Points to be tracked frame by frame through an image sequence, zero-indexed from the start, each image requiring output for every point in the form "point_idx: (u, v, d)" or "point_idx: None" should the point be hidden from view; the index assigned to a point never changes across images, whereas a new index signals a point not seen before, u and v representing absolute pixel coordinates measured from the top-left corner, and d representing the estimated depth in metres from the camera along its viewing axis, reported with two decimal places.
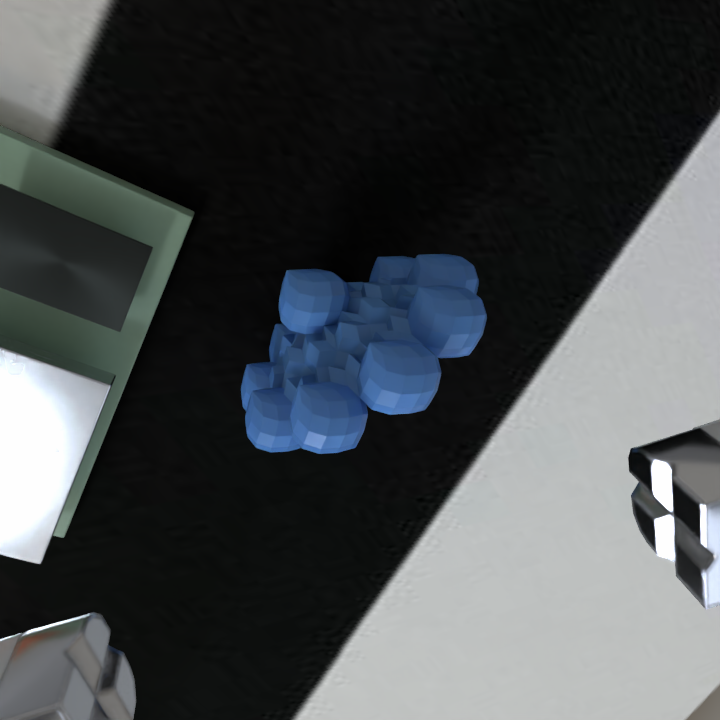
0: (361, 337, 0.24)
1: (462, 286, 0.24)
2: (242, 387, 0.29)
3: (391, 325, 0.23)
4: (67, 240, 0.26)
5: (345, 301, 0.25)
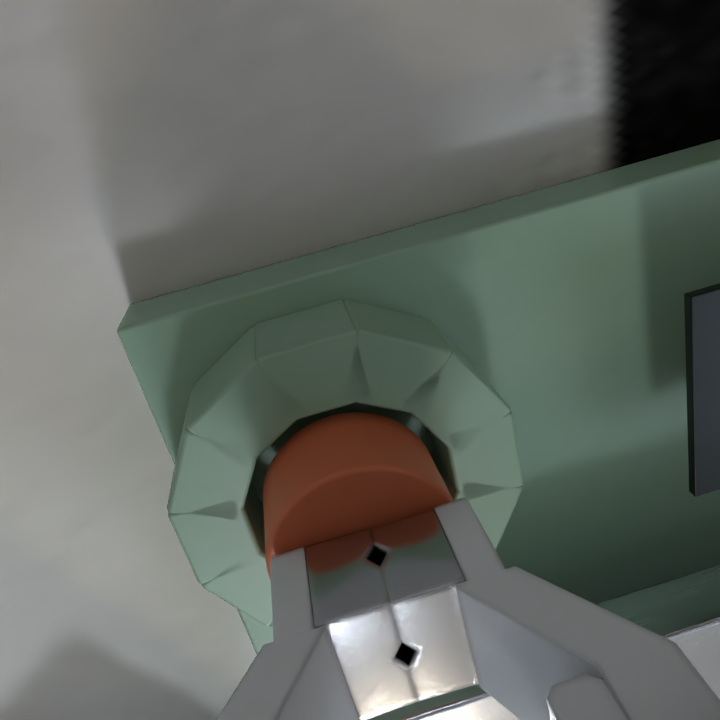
0: None
1: None
2: None
3: None
4: None
5: None
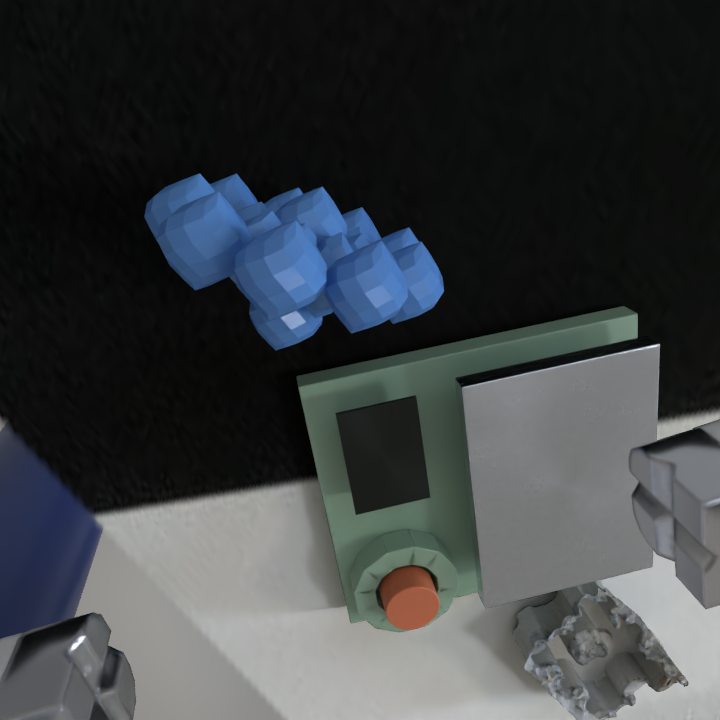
0: None
1: None
2: None
3: None
4: (367, 463, 0.32)
5: None
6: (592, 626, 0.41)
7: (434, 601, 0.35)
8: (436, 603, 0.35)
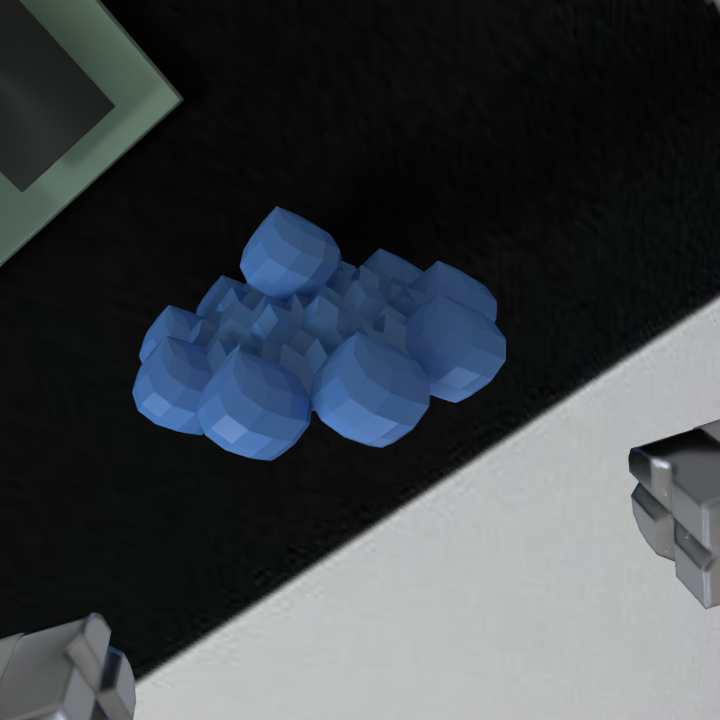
0: (339, 325, 0.18)
1: None
2: (150, 330, 0.21)
3: (383, 326, 0.18)
4: (5, 40, 0.18)
5: (333, 276, 0.19)
6: None
7: None
8: None
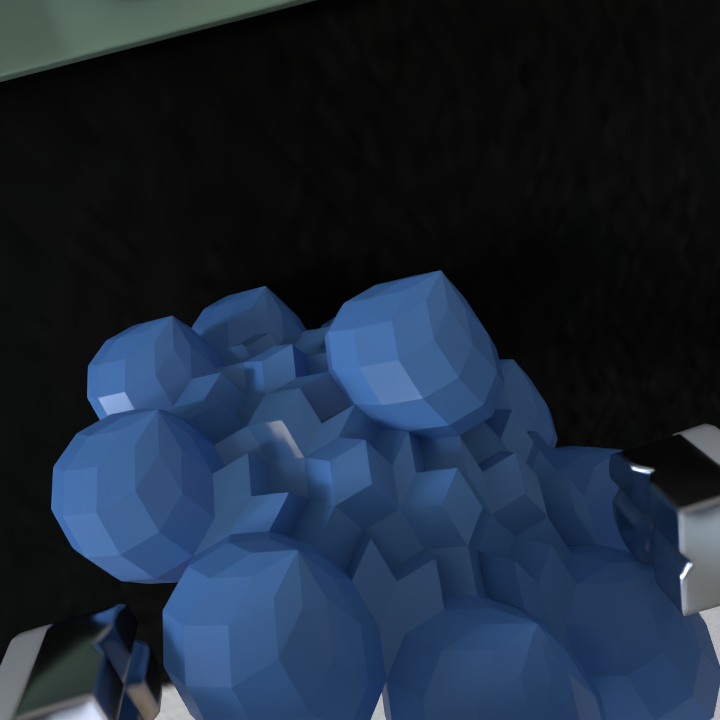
0: (471, 537, 0.10)
1: None
2: (123, 341, 0.12)
3: (540, 568, 0.10)
4: None
5: (475, 422, 0.11)
6: None
7: None
8: None
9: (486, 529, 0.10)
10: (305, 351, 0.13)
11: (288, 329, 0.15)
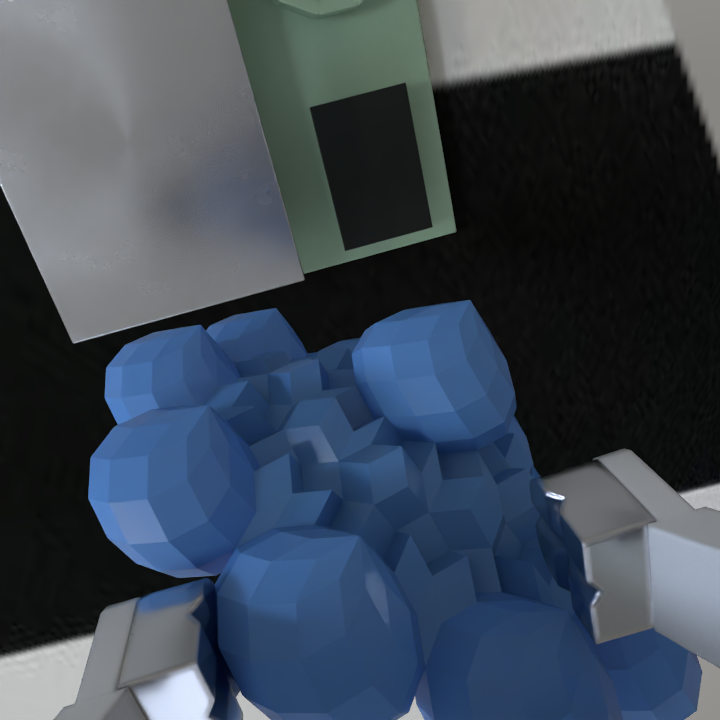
0: (493, 541, 0.10)
1: None
2: (148, 345, 0.13)
3: None
4: (395, 162, 0.27)
5: None
6: None
7: None
8: None
9: (501, 536, 0.11)
10: None
11: (295, 350, 0.15)
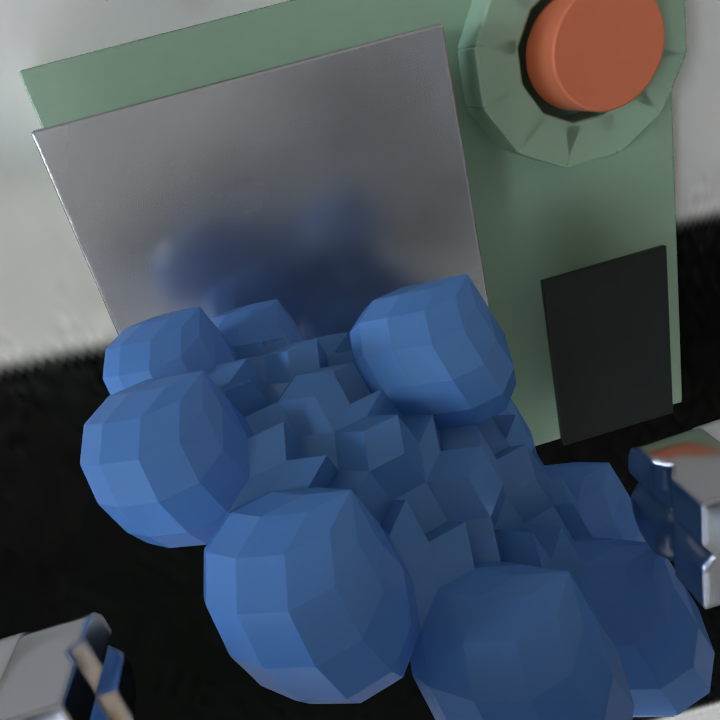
0: (492, 511, 0.10)
1: None
2: (147, 326, 0.13)
3: (551, 547, 0.10)
4: (639, 340, 0.21)
5: (488, 416, 0.12)
6: None
7: (564, 65, 0.16)
8: (560, 59, 0.16)
9: (501, 510, 0.11)
10: None
11: (296, 340, 0.15)
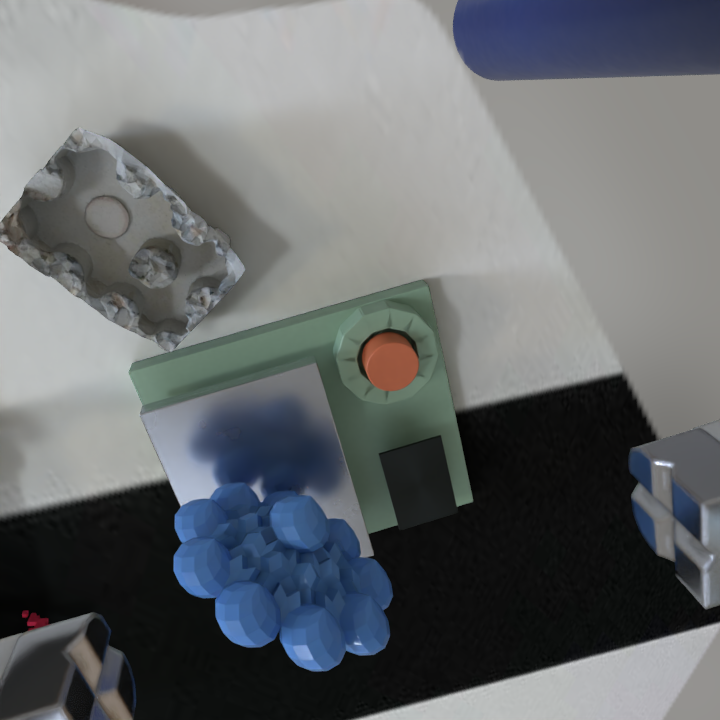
0: (312, 585, 0.30)
1: (379, 605, 0.33)
2: (192, 507, 0.33)
3: (333, 597, 0.30)
4: (433, 479, 0.41)
5: (319, 547, 0.32)
6: None
7: (373, 375, 0.36)
8: (370, 373, 0.36)
9: (318, 584, 0.31)
10: (260, 515, 0.33)
11: (252, 501, 0.35)
